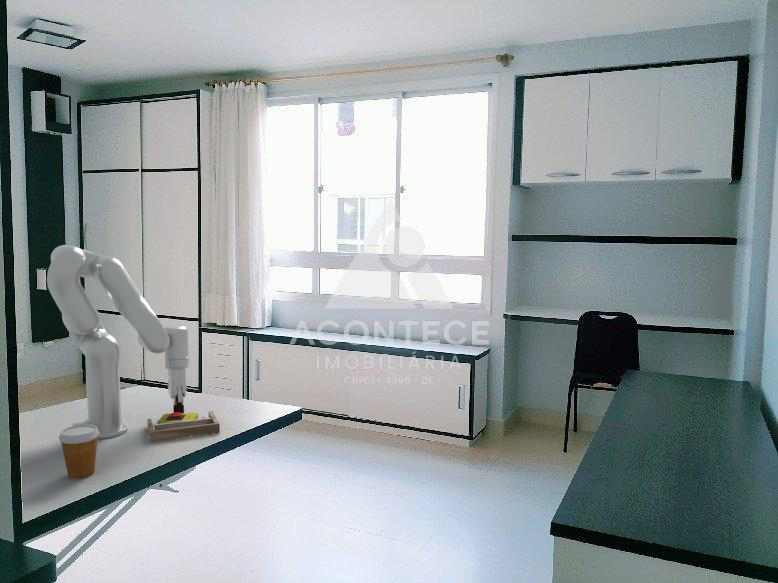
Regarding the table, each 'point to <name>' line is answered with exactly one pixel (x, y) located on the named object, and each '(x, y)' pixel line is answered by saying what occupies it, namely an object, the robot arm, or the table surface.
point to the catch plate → (182, 424)
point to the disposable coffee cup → (79, 450)
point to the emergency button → (177, 417)
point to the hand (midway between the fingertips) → (178, 416)
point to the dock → (183, 430)
